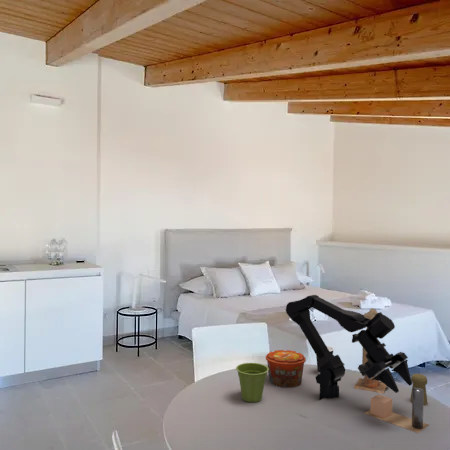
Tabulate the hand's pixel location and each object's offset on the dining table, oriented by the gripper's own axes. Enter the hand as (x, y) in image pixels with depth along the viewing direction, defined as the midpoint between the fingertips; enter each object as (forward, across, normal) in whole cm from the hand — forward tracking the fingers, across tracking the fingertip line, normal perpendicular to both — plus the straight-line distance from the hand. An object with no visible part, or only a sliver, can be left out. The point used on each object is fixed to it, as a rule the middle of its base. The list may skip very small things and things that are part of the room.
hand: (404, 388), depth 141 cm
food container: (-27, -2, -44) cm, 51 cm away
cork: (+6, -19, -11) cm, 23 cm away
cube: (+2, 0, -13) cm, 13 cm away
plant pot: (-25, +21, -42) cm, 53 cm away
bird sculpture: (-7, -20, -24) cm, 32 cm away
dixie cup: (-23, -21, -40) cm, 50 cm away
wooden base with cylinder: (+6, 0, -10) cm, 12 cm away
